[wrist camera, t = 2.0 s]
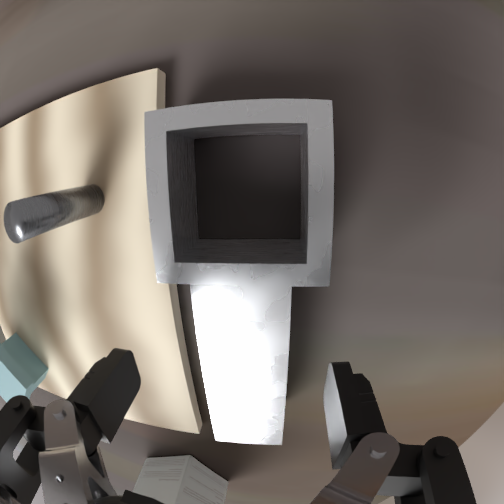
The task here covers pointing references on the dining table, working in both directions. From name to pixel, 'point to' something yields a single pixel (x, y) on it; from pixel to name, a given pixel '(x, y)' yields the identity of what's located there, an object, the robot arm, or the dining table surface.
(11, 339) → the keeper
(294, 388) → the dining table surface
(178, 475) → the supplement box
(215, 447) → the dining table surface
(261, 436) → the link
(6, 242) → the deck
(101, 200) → the cylinder
